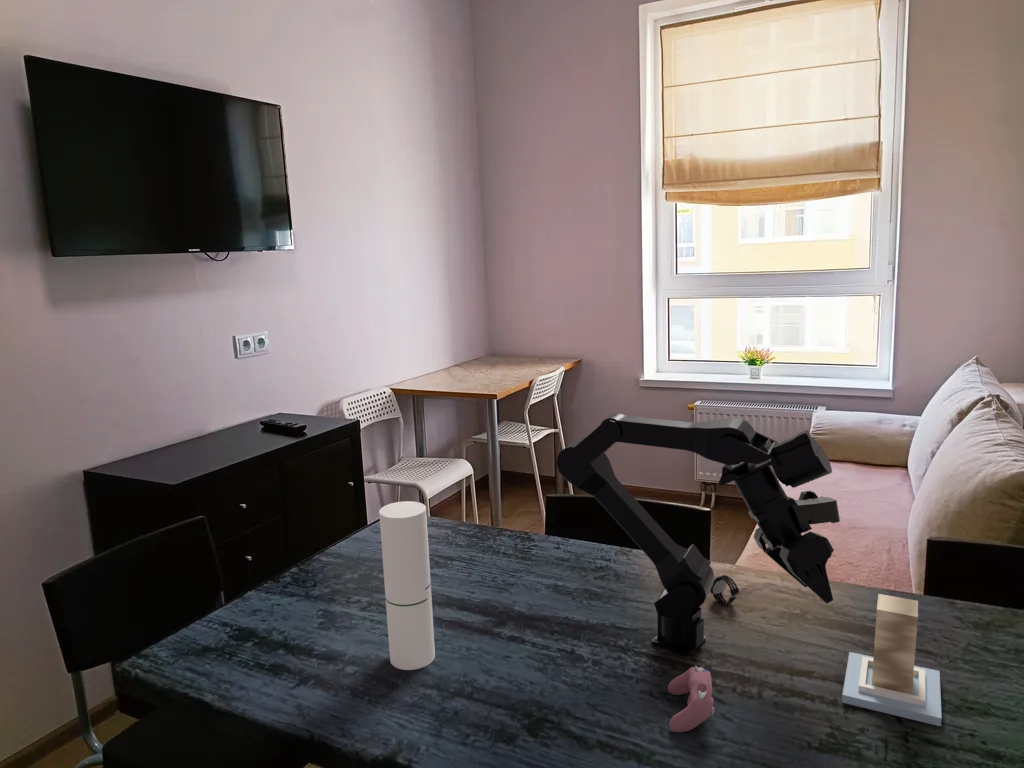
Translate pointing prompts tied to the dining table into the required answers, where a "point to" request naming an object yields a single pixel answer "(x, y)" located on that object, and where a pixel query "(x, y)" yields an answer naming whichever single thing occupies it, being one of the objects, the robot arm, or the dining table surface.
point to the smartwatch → (720, 586)
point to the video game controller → (692, 698)
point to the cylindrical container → (407, 584)
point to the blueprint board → (893, 692)
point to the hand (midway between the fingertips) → (818, 593)
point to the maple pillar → (895, 643)
